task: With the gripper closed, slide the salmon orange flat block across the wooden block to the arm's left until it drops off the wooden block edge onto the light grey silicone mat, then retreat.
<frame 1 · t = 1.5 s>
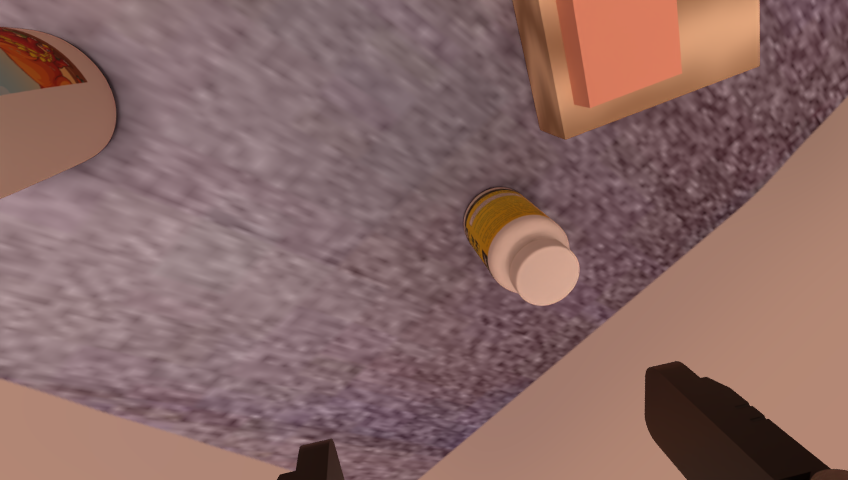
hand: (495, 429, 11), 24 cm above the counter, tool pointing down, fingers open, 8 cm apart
salmon orange flat block: (607, 13, 27), point 4 cm above the counter, touching wooden block
wooden block: (615, 2, 31), on the counter
milk bottle: (50, 99, 27), on the counter
supplement bottle: (494, 218, 36), on the counter
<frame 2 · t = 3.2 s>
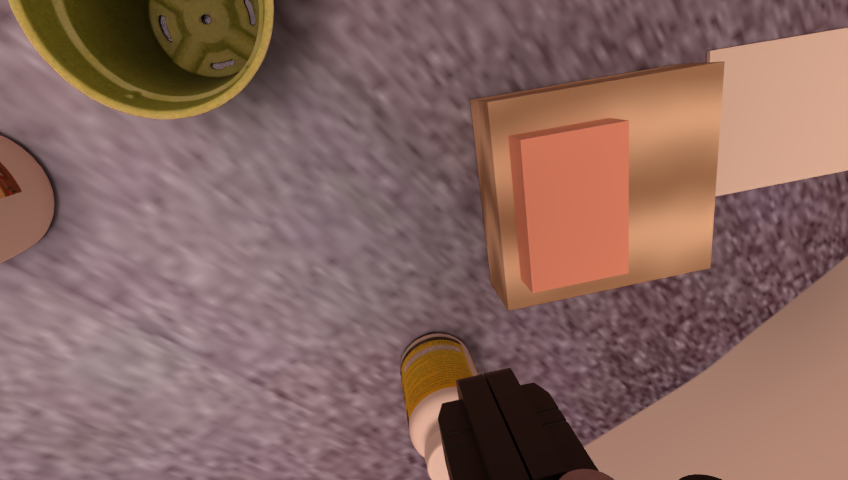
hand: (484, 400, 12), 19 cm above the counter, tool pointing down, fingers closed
salmon orange flat block: (563, 202, 27), point 4 cm above the counter, touching wooden block
wooden block: (579, 180, 31), on the counter
mat: (781, 114, 32), on the counter
plant pot: (212, 20, 25), on the counter
supplement bottle: (434, 361, 35), on the counter
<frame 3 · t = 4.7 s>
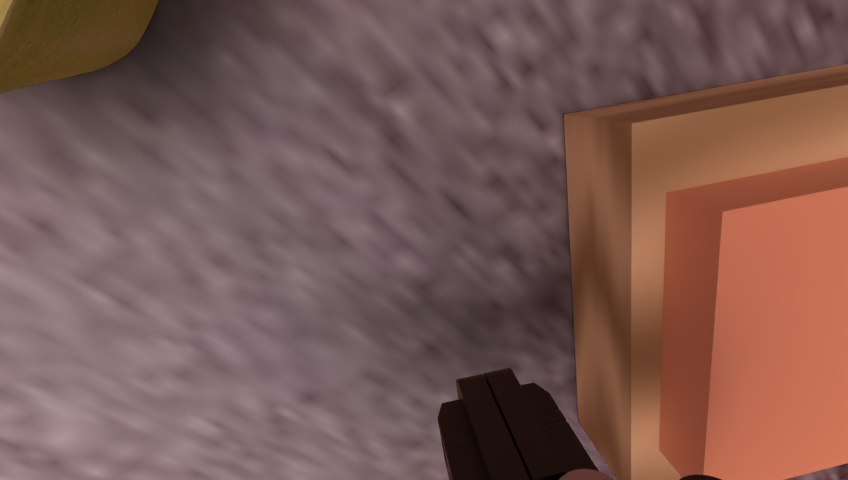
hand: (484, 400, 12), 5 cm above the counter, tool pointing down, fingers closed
salmon orange flat block: (753, 315, 14), point 4 cm above the counter, touching wooden block
wooden block: (739, 252, 18), on the counter
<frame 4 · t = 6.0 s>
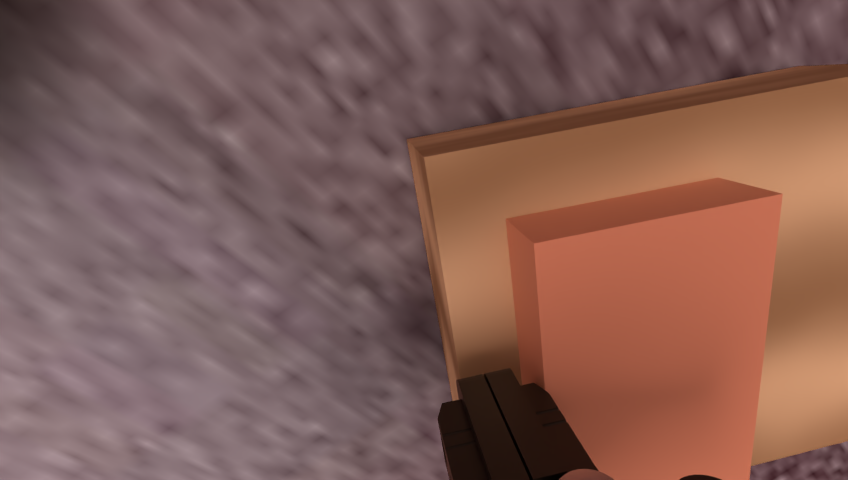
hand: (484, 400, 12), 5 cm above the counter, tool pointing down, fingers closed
salmon orange flat block: (615, 341, 14), point 4 cm above the counter, touching wooden block, gripper
wooden block: (613, 274, 18), on the counter
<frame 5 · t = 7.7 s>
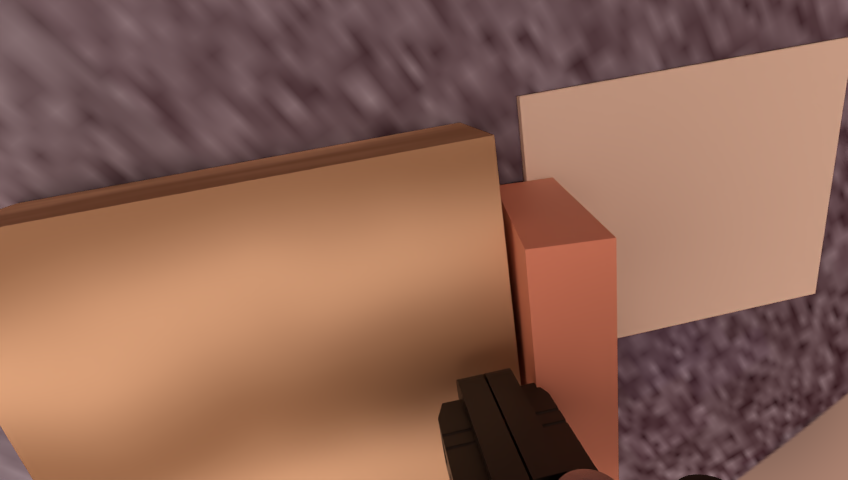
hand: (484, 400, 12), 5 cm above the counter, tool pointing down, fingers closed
salmon orange flat block: (519, 344, 15), point 3 cm above the counter, tilted 80°, touching gripper, mat
wooden block: (298, 335, 17), on the counter
mat: (680, 205, 17), on the counter
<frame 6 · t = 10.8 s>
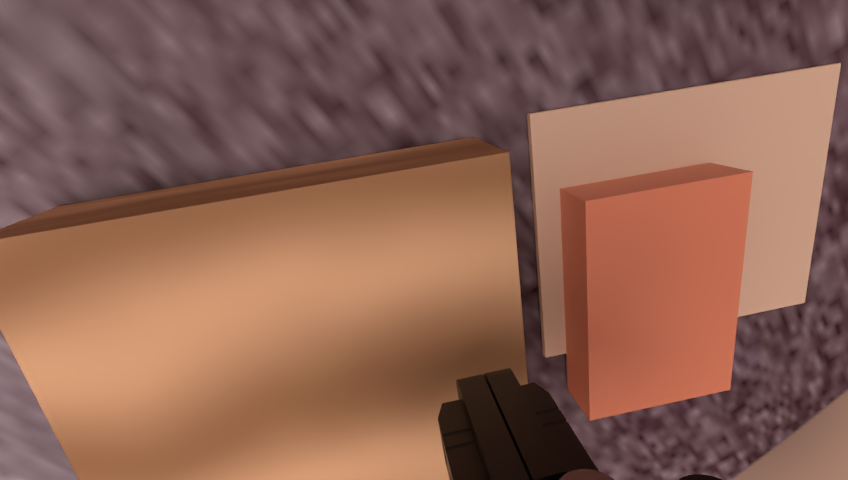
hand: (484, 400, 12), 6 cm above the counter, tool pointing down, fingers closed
salmon orange flat block: (665, 305, 17), point 2 cm above the counter, tilted 180°, touching mat
wooden block: (316, 335, 18), on the counter
mat: (678, 217, 18), on the counter
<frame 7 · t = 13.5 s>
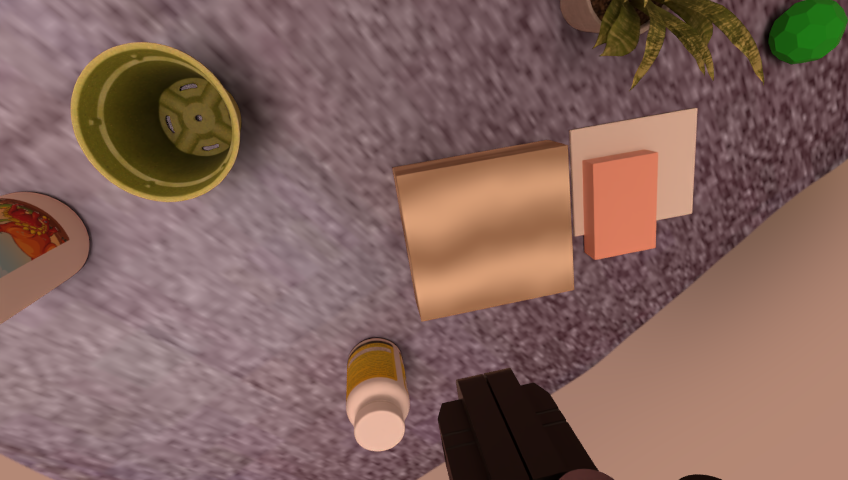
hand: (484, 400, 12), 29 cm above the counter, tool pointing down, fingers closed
polyhedron: (779, 35, 40), on the counter
salmon orange flat block: (625, 207, 41), point 2 cm above the counter, tilted 180°, touching mat
wooden block: (479, 223, 42), on the counter
house plant: (586, 15, 38), on the counter
mat: (632, 173, 42), on the counter
milk bottle: (42, 235, 37), on the counter
plant pot: (203, 117, 36), on the counter
supplement bottle: (374, 359, 45), on the counter
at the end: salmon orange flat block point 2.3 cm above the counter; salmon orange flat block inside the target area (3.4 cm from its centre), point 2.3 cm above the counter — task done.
